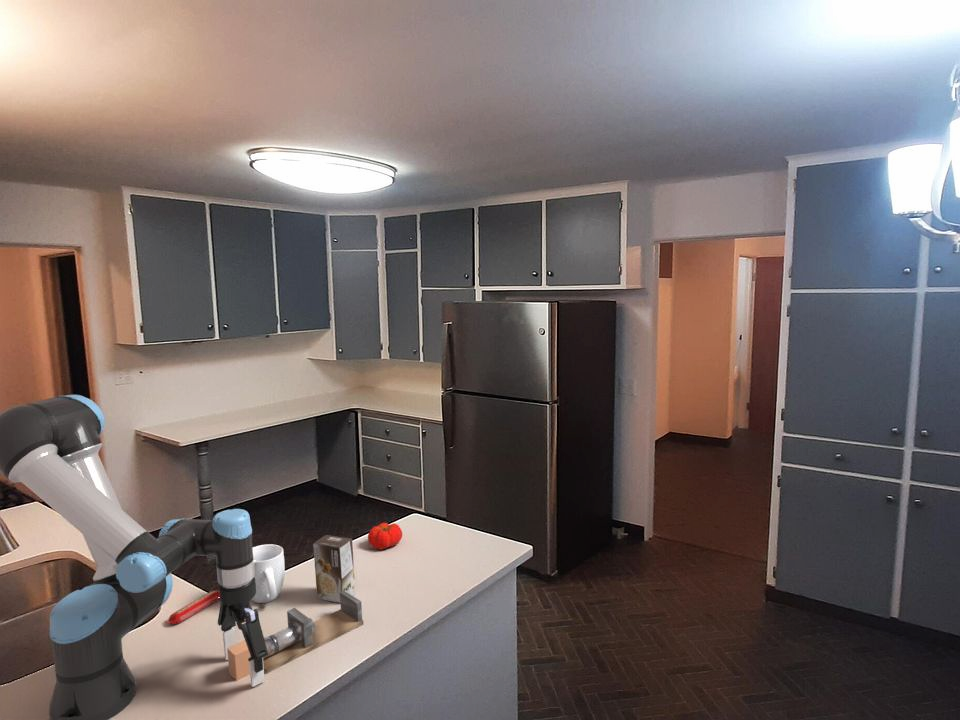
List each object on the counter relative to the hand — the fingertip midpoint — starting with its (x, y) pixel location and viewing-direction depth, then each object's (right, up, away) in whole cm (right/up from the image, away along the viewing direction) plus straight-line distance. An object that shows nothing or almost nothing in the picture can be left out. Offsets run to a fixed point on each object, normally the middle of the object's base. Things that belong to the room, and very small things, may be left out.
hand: (244, 669), depth 132 cm
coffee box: (+13, +4, +32) cm, 34 cm away
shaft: (+7, +2, +7) cm, 10 cm away
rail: (+11, +1, +11) cm, 16 cm away
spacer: (0, 0, 0) cm, 0 cm away
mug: (-6, +3, +31) cm, 32 cm away
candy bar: (-23, +2, +26) cm, 35 cm away
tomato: (+22, +8, +63) cm, 67 cm away
